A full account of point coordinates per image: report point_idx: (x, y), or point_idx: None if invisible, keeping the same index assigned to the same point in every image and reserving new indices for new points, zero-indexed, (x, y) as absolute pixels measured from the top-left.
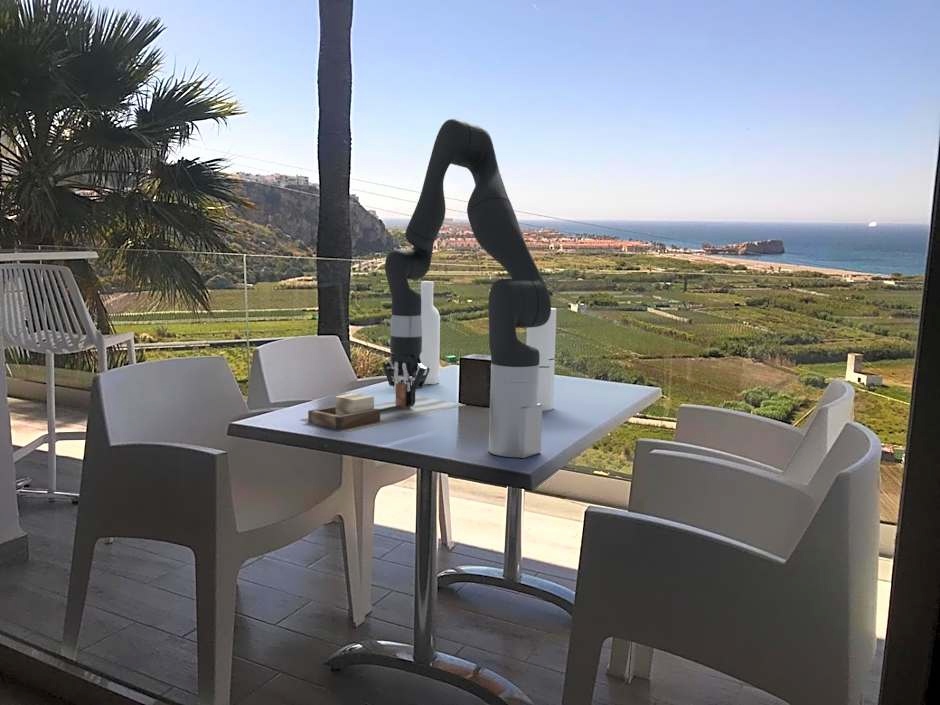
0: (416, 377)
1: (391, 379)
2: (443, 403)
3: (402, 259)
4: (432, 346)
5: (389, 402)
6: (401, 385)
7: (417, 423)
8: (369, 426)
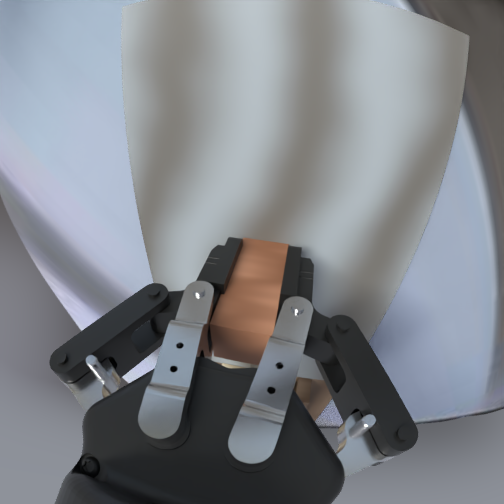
0: (344, 411)
1: (159, 345)
2: (357, 52)
3: None
4: None
5: (138, 197)
6: (254, 360)
7: (396, 341)
8: (324, 405)
